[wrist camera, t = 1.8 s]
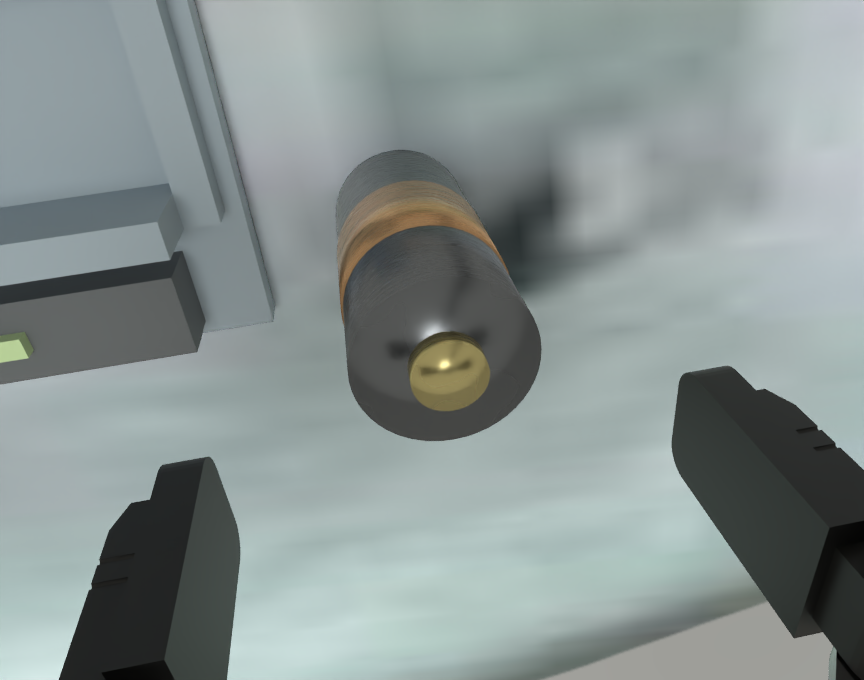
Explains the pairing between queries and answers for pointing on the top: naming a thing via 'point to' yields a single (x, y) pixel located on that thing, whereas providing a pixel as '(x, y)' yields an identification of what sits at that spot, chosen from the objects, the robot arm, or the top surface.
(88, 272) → the tray
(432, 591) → the top surface
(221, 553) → the robot arm
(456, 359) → the cell
